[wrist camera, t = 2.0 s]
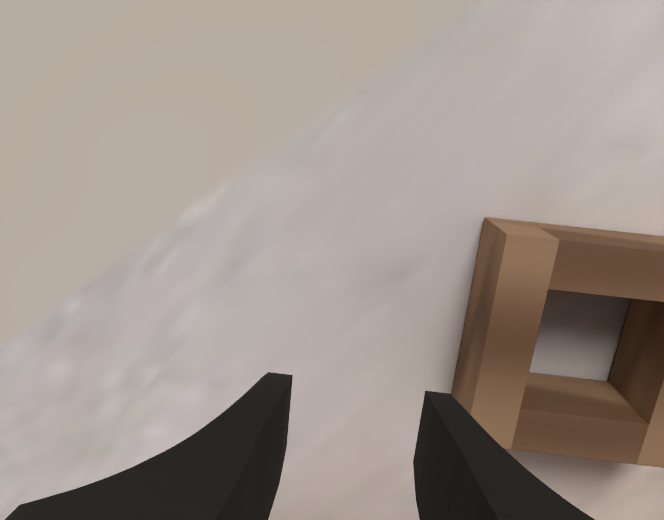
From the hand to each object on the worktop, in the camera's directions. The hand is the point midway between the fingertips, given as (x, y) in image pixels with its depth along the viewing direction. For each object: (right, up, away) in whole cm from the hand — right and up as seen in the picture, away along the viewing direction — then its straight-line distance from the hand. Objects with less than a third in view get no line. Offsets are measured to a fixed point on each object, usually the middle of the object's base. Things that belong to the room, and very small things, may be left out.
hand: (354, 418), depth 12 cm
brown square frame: (+9, +1, +8) cm, 12 cm away
